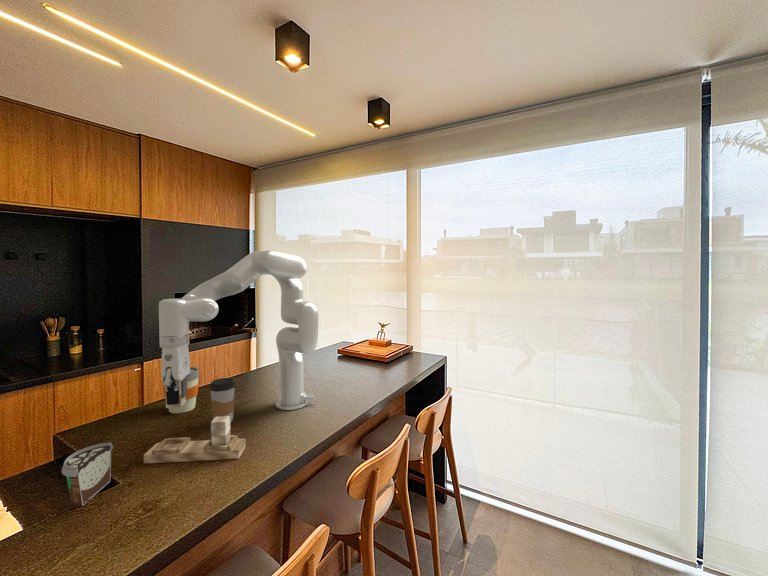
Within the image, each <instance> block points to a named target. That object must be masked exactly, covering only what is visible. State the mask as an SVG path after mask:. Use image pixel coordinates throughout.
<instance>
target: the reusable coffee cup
mask: <svg viewBox="0 0 768 576" xmlns="http://www.w3.org/2000/svg"><path fill="white" fill-rule="evenodd" d="M199 377H200V372H199V368H198V367H194V366H190V372H189V374H188V375H187V376H185V378H187V395H186V396H185V400H186V402H185V403H184V404H183V405H182V406H181V407H172V408H167V409H168V412H169V413H171V414H182V413H186V412H190V411H192V410H194V409H195V407H196V402H197V396H198V394H199V393H198V392H199V383H200V382H199ZM161 381H162V383H164V381H163V380H162V379H161ZM163 386H164V385H163ZM163 394H164V398H165V400H166V391H165V386H164V387H163Z"/></svg>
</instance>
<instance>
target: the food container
mask: <svg viewBox="0 0 768 576" xmlns="http://www.w3.org/2000/svg"><path fill="white" fill-rule="evenodd" d="M113 449H114V446H113V444H112V442H111V441H110V442H103V443H98V444H97V443H96V444H94V445H90V446H87V447H84V448H82V449H80V450H79V449H78V450H77V451H75V452H73V453H71V454H70V455H69V456H68V457H66V459H65V460H64V462H63V465H62V468H61V474H62V475H63V476H65V477H66V482H67V487H68V494H69V499H70V503H71V505H73V506H75V507H83V506H85V504H86V502H87V500H89V499H90V500H91V499H93V498H94V496H96V495H97V494H98V493H100V492H101V490H102V489H104V488H105V487H107V485H108V484H109V483H111V480H112V479H111V476H112V475H111V473H112V472H111V470H112V450H113ZM90 500H89V501H90ZM84 501H86V502H84ZM84 503H85V504H84ZM87 503H88V502H87ZM79 504H80V505H79ZM77 505H78V506H77ZM81 505H82V506H81Z"/></svg>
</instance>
